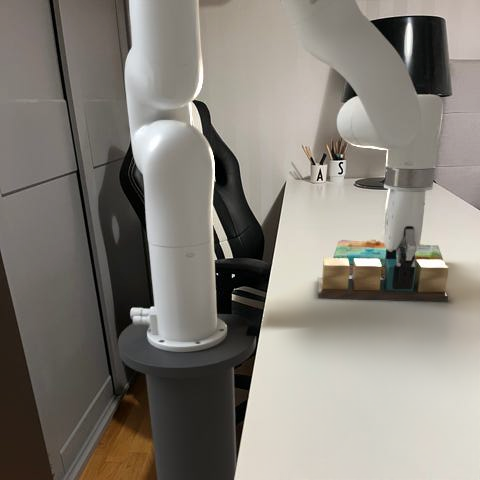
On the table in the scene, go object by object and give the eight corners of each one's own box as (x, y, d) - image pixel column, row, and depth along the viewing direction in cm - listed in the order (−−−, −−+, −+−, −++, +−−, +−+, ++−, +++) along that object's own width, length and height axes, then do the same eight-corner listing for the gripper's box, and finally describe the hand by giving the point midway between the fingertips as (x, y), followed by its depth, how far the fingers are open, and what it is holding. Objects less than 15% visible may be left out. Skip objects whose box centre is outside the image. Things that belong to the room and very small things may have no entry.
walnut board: (318, 298, 87) (318, 292, 86) (317, 282, 94) (318, 277, 93) (447, 301, 84) (448, 296, 83) (437, 285, 91) (437, 280, 91)
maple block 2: (353, 290, 87) (355, 265, 85) (351, 281, 91) (353, 258, 89) (379, 290, 86) (382, 266, 85) (376, 282, 90) (378, 258, 89)
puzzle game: (338, 236, 106) (438, 241, 101) (337, 258, 108) (435, 263, 103) (333, 251, 96) (444, 257, 91) (332, 275, 98) (441, 281, 93)
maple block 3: (418, 291, 86) (421, 267, 84) (413, 283, 90) (416, 259, 88) (444, 292, 85) (448, 267, 83) (438, 283, 89) (442, 260, 87)
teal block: (386, 290, 86) (389, 266, 85) (383, 282, 90) (385, 258, 89) (412, 291, 86) (415, 266, 84) (408, 282, 90) (411, 259, 88)
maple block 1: (322, 289, 88) (323, 265, 86) (321, 280, 92) (323, 257, 90) (347, 289, 87) (349, 265, 85) (346, 281, 91) (347, 258, 89)
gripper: (378, 171, 89) (370, 264, 96) (392, 187, 73) (381, 296, 80) (422, 171, 88) (410, 265, 95) (446, 187, 72) (430, 297, 79)
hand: (397, 279), depth 87 cm, fingers open, 9 cm apart
